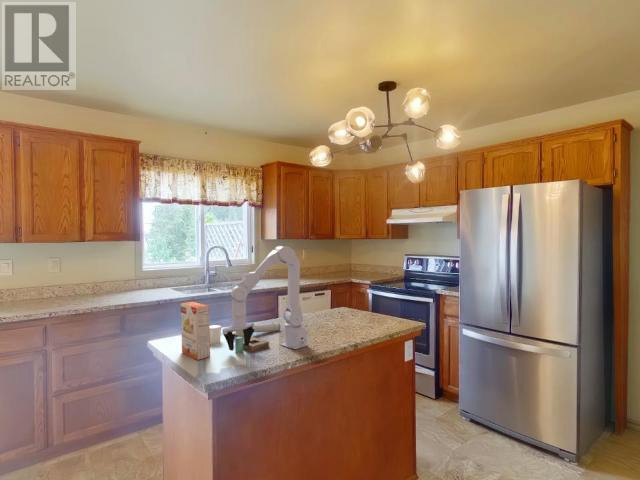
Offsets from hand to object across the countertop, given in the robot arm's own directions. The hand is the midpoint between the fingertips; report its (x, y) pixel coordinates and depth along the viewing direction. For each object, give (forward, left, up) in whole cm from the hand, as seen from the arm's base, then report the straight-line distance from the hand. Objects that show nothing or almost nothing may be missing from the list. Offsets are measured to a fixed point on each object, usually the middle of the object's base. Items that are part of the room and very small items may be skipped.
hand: (239, 347), depth 154 cm
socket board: (+2, -8, -2) cm, 9 cm away
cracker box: (+11, +14, -2) cm, 18 cm away
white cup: (+22, -2, -2) cm, 22 cm away
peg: (0, 0, -2) cm, 2 cm away
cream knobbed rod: (+16, -22, -2) cm, 27 cm away
